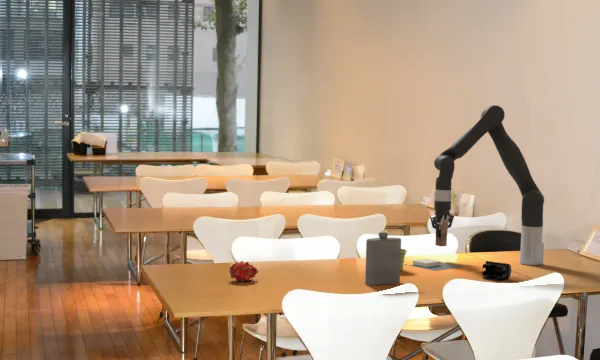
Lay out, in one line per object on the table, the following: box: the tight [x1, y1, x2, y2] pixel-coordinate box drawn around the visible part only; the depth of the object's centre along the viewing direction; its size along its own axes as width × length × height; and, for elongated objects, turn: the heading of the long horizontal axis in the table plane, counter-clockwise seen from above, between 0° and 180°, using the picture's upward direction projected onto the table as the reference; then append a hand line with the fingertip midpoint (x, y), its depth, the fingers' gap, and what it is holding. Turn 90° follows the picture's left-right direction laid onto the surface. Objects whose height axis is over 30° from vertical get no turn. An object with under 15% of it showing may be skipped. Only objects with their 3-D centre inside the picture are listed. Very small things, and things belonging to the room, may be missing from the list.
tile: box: [412, 258, 442, 268], centre depth 365 cm, size 8×2×9 cm
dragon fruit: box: [228, 260, 259, 282], centre depth 325 cm, size 8×8×12 cm
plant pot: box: [400, 248, 407, 272], centre depth 354 cm, size 9×9×9 cm
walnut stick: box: [434, 219, 448, 247], centre depth 377 cm, size 4×4×12 cm
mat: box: [404, 261, 463, 272], centre depth 366 cm, size 22×18×1 cm
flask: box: [364, 231, 402, 286], centre depth 325 cm, size 15×6×20 cm, turn 116°
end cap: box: [481, 260, 512, 282], centre depth 340 cm, size 10×7×7 cm
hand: (441, 237), depth 377 cm, fingers closed on walnut stick, 3 cm apart
